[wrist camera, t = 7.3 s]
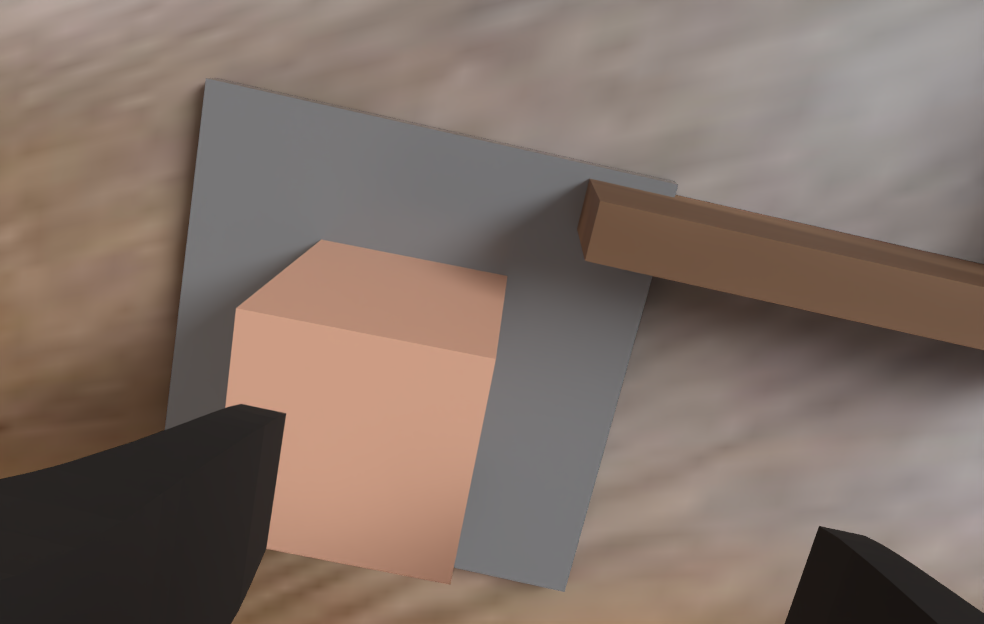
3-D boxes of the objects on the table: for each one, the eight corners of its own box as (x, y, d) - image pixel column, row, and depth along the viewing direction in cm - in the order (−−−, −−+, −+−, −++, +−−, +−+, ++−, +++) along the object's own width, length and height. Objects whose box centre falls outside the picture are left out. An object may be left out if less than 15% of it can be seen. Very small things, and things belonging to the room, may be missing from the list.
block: (473, 445, 22) (450, 584, 16) (298, 411, 22) (211, 538, 16) (507, 276, 20) (496, 359, 15) (321, 239, 20) (236, 307, 15)
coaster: (563, 578, 23) (564, 591, 23) (165, 491, 23) (156, 502, 22) (674, 181, 20) (678, 184, 20) (215, 77, 20) (206, 78, 19)
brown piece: (1101, 342, 21) (1229, 405, 17) (575, 224, 20) (584, 261, 17) (1345, -208, 17) (1576, -287, 13) (719, -354, 17) (771, -476, 13)
